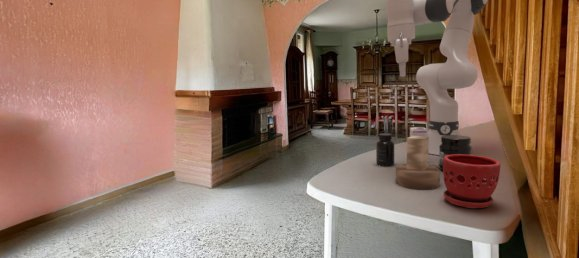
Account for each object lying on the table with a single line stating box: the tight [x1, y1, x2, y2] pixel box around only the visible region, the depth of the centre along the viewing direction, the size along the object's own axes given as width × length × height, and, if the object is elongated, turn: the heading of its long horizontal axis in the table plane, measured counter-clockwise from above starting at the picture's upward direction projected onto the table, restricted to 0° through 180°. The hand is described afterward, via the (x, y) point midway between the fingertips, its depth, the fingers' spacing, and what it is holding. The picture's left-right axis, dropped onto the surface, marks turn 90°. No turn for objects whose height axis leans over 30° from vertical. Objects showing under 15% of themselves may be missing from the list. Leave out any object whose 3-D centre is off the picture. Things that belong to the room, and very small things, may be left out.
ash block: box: [406, 136, 429, 171], centre depth 107 cm, size 5×5×10 cm
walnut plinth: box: [395, 163, 441, 191], centre depth 108 cm, size 13×13×5 cm
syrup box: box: [409, 126, 429, 137], centre depth 128 cm, size 6×6×14 cm
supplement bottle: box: [375, 132, 395, 167], centre depth 132 cm, size 7×7×12 cm
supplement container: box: [438, 135, 473, 174], centre depth 121 cm, size 10×10×12 cm
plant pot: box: [442, 154, 501, 209], centre depth 89 cm, size 13×13×12 cm
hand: (402, 76), depth 117 cm, fingers open, 8 cm apart
